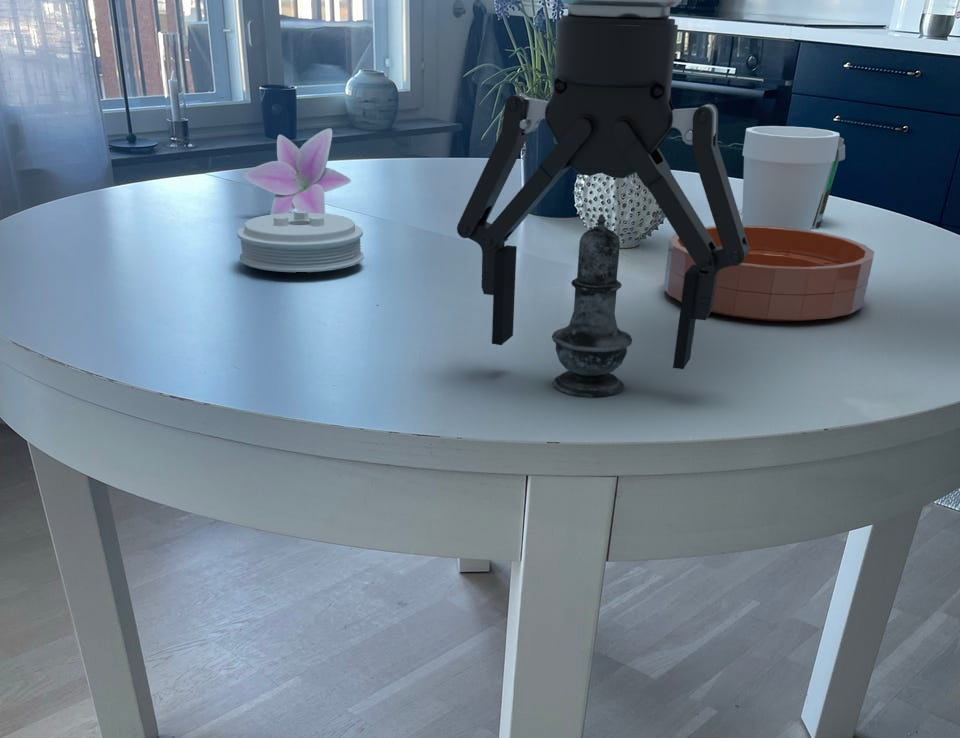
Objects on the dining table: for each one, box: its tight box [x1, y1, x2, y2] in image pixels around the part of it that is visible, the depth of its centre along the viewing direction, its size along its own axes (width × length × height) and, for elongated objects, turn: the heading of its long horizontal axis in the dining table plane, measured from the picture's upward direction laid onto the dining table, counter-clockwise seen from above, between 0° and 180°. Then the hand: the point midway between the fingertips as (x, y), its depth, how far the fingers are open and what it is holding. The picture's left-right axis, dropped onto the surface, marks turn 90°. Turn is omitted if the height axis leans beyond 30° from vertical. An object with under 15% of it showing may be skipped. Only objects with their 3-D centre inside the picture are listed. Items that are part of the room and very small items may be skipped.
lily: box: [242, 128, 352, 215], centre depth 125 cm, size 12×12×10 cm
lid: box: [236, 210, 365, 273], centre depth 104 cm, size 13×13×5 cm
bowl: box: [663, 225, 875, 322], centre depth 97 cm, size 19×19×5 cm
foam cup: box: [741, 125, 841, 231], centre depth 107 cm, size 10×9×13 cm
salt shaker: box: [551, 213, 634, 398], centre depth 73 cm, size 6×6×12 cm
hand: (589, 351), depth 75 cm, fingers open, 13 cm apart
